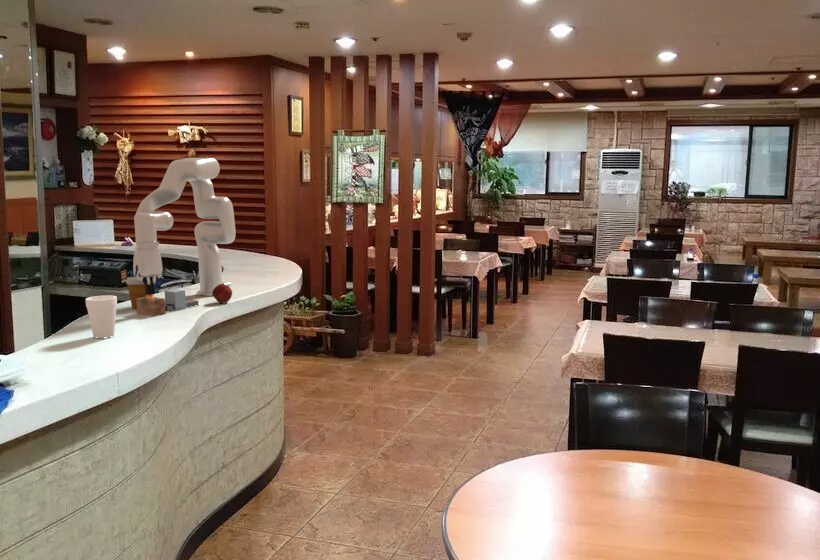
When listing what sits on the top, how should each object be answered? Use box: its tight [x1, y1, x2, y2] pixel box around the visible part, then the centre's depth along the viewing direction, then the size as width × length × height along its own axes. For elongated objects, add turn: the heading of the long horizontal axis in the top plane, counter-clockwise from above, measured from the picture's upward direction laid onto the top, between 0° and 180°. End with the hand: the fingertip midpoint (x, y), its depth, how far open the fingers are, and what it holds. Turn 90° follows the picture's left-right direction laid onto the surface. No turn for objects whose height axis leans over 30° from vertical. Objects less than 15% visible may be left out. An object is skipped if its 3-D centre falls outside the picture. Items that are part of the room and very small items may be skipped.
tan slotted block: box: [136, 296, 166, 317], centre depth 280 cm, size 5×10×6 cm, turn 57°
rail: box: [165, 299, 199, 312], centre depth 291 cm, size 15×4×2 cm, turn 147°
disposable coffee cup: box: [125, 276, 148, 310], centre depth 293 cm, size 10×10×12 cm
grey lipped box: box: [164, 288, 187, 310], centre depth 289 cm, size 5×6×7 cm
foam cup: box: [85, 294, 118, 338], centre depth 242 cm, size 10×9×13 cm
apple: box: [212, 284, 233, 304], centre depth 301 cm, size 7×8×8 cm
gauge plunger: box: [146, 294, 155, 300], centre depth 280 cm, size 3×3×4 cm
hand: (150, 294), depth 280 cm, fingers closed
